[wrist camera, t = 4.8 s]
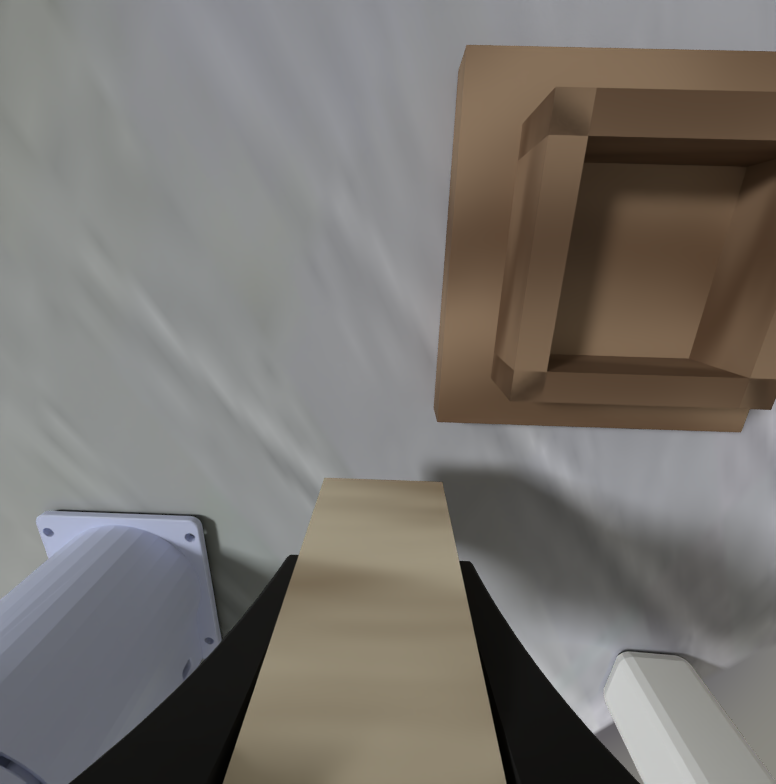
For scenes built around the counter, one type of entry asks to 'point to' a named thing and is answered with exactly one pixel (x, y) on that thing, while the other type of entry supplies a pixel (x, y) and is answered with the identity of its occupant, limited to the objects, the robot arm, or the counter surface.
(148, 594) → the robot arm
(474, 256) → the peg holder
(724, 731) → the salt shaker
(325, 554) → the birch peg
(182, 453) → the counter surface
